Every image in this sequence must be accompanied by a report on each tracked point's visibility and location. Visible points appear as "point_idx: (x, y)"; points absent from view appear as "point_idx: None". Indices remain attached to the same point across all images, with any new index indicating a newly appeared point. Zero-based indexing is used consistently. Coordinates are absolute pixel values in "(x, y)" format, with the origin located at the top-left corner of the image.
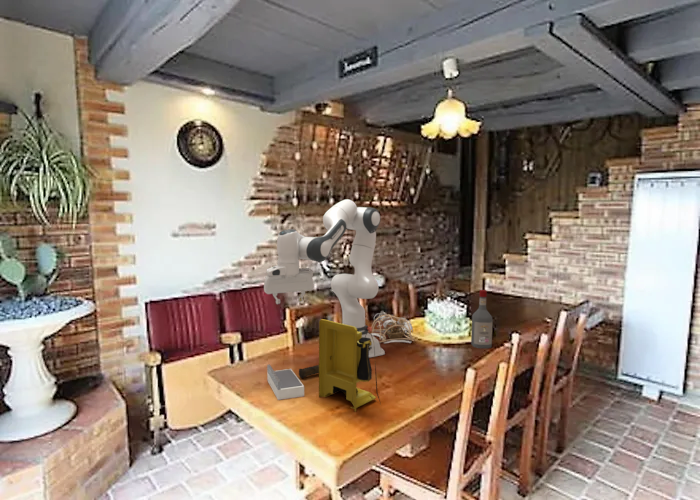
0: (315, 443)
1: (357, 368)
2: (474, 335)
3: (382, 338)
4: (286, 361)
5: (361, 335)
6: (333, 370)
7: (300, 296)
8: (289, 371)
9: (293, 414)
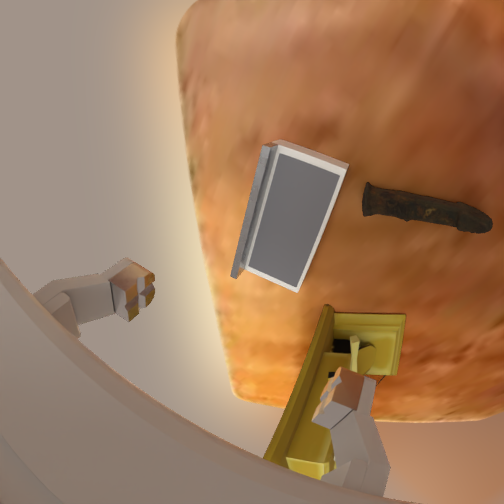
0: (232, 373)
1: None
2: None
3: None
4: (413, 34)
5: None
6: (349, 356)
7: (348, 421)
8: (326, 189)
9: (244, 315)
